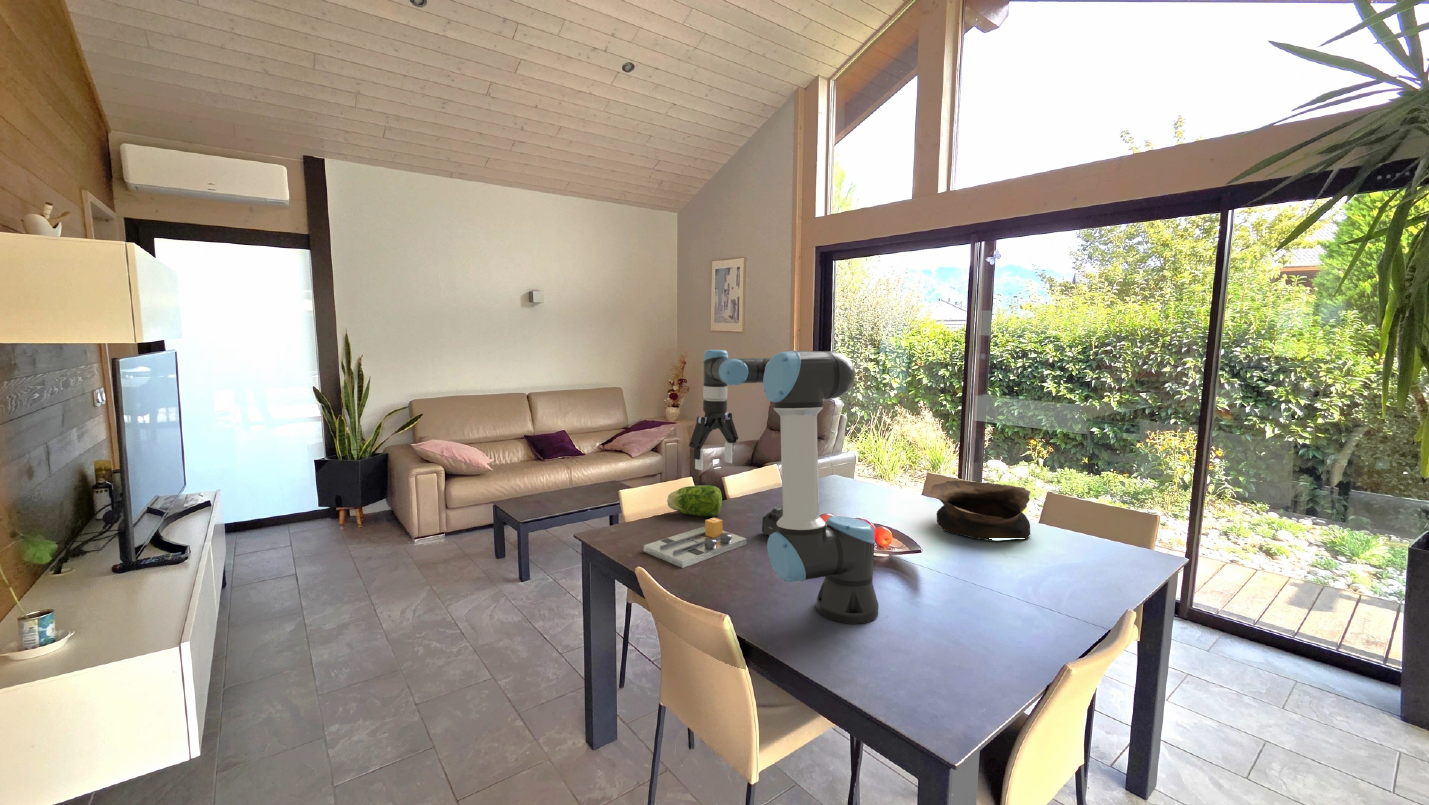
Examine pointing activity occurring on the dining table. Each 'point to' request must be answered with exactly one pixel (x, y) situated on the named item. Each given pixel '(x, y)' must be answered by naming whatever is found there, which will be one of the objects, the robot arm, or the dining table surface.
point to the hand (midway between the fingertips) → (714, 465)
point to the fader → (713, 527)
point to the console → (693, 546)
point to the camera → (771, 520)
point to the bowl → (982, 509)
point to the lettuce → (696, 500)
